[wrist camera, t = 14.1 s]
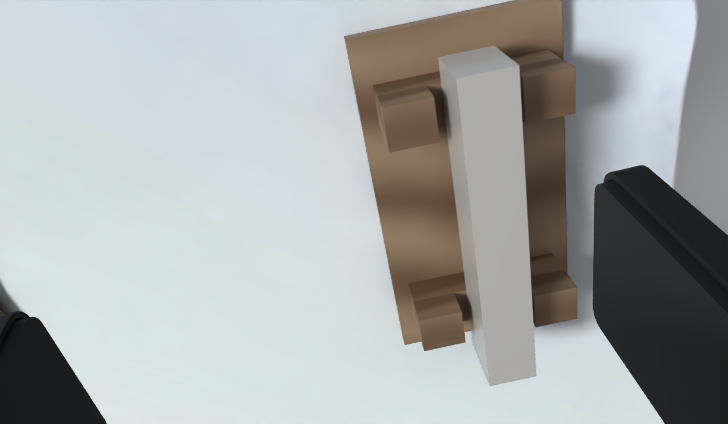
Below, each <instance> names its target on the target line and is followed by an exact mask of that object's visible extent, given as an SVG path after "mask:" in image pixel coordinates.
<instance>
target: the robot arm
mask: <svg viewBox="0 0 728 424" xmlns="http://www.w3.org/2000/svg"><path fill="white" fill-rule="evenodd" d="M593 311H594V316H595V319H596V321H597V324H598V326H599V327H600V329H601V330H602V332H603V333H604V335H605V336H606V338H607V339H608V341H609V342H610V344H611V345H612V347H613V348H614V349H615V351H616V352H617V354H618V355H619V357H620V358H621V360H622V361H623V363H624V364H625V366H626V367H627V369H628V370H629V372H630V373H631V374H632V376H633V377H634V379H635V380H636V382H637V383H638V385H639V386H640V388H641V389H642V391H643V392H644V394H645V395H646V397H647V398H648V399H649V401H650V402H651V404H652V405H653V407H654V408H655V410H656V411H657V413H658V414H659V416H660V417H661V419H662V420H663V422H664V423H665V424H728V235H727V234H726V233H724V232H723V231H722V230H721V229H720V228H718V227H717V226H716V225H715V224H714V223H713V222H711V221H710V220H709V219H708V218H707V217H706V216H704V215H703V214H702V213H701V212H700V211H698V210H697V209H696V208H695V207H694V206H693V205H691V204H690V203H689V202H688V201H687V200H686V199H684V198H683V197H682V196H681V195H680V194H679V193H677V192H676V191H675V190H674V189H673V188H671V187H670V186H669V185H668V184H667V183H666V182H664V181H663V180H662V179H661V178H660V177H659V176H657V175H656V174H655V173H654V172H653V171H652V170H650V169H649V168H648V167H646V166H644V165H640V166H635V167H631V168H627V169H623V170H618V171H614V172H610V173H608V174H607V175H606V176H605V178H604V183H601V184H598V185H597V186H596V188H595V198H594V261H593ZM0 424H107V423H106V421H105V419H104V418H103V416H102V415H101V413H100V412H99V410H98V409H97V407H96V405H95V404H94V402H93V401H92V399H91V398H90V396H89V395H88V393H87V392H86V390H85V388H84V387H83V385H82V384H81V382H80V381H79V379H78V378H77V376H76V375H75V373H74V371H73V370H72V368H71V367H70V365H69V364H68V362H67V361H66V359H65V358H64V356H63V354H62V353H61V351H60V350H59V348H58V347H57V345H56V344H55V342H54V341H53V339H52V337H51V336H50V334H49V333H48V331H47V330H46V328H45V327H44V325H43V324H42V322H41V321H40V320H39V319H38V318H36V317H29V316H28V315H27V314H26V313H24V312H20V311H17V312H12V313H8V314H4V315H0Z"/></svg>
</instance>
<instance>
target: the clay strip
mask: <svg viewBox="0 0 728 424" xmlns="http://www.w3.org/2000/svg"><path fill="white" fill-rule="evenodd" d="M438 62H439V70H440V78H441V87H442V95H443V103H444V111H445V120H446V128H447V136H448V144H449V153H450V161H451V169H452V178H453V186H454V194H455V202H456V211H457V219H458V227H459V235H460V244H461V252H462V260H463V268H464V277H465V285H466V293H467V301H468V310H469V318H470V326H471V334H472V343H473V346H474V348H475V351H476V354H477V356H478V359H479V361H480V364H481V366H482V369H483V371H484V374H485V376H486V379H487V381H488V384H489V386H493V385H498V384H502V383H507V382H512V381H516V380H521V379H526V378H530V377H535V376H536V363H535V344H534V326H533V308H532V289H531V271H530V253H529V234H528V216H527V198H526V180H525V161H524V143H523V125H522V106H521V88H520V70H519V65H518V64H517V63H516V62H514V61H513V60H512V59H510V58H509V57H508V56H507V55H505V54H504V53H503V52H502V51H500V50H499V49H498V48H496V47H495V46H489V47H485V48H480V49H475V50H470V51H466V52H461V53H456V54H451V55H447V56H442V57H438Z"/></svg>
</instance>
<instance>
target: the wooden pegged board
mask: <svg viewBox="0 0 728 424" xmlns="http://www.w3.org/2000/svg"><path fill="white" fill-rule="evenodd" d="M344 38H345V43H346V48H347V54H348V59H349V64H350V69H351V74H352V79H353V84H354V89H355V94H356V100H357V105H358V110H359V115H360V120H361V125H362V130H363V135H364V141H365V146H366V151H367V156H368V161H369V166H370V171H371V176H372V182H373V187H374V192H375V197H376V202H377V207H378V212H379V217H380V223H381V228H382V233H383V238H384V243H385V248H386V253H387V258H388V264H389V269H390V274H391V279H392V284H393V289H394V294H395V299H396V305H397V310H398V315H399V320H400V325H401V330H402V335H403V339H404V344H405V345H407V344H411V343H416V342H422V345H423V348H424V351H427V350H432V349H436V348H441V347H446V346H450V345H455V344H460V343H464V342H465V334H464V332H467V331H471V326H470V318H469V310H468V301H467V293H466V285H465V277H464V268H463V260H462V252H461V244H460V235H459V227H458V219H457V211H456V202H455V194H454V186H453V178H452V169H451V161H450V153H449V144H448V136H447V128H446V120H445V111H444V103H443V95H442V87H441V78H440V70H439V62H438V57H442V56H447V55H451V54H456V53H461V52H466V51H470V50H475V49H480V48H485V47H489V46H495V47H496V48H498V49H499V50H500V51H502V52H503V53H504V54H505V55H507V56H508V57H509V58H510V59H512V60H513V61H514V62H516V63H517V64H518V65H519V70H520V88H521V106H522V125H523V143H524V161H525V180H526V198H527V216H528V234H529V253H530V271H531V289H532V308H533V323H534V325H535V326H536V327H539V326H544V325H549V324H553V323H558V322H563V321H567V320H572V319H577V287H576V285H575V284H574V283H573V281H572V280H571V278H570V277H569V276H568V274H567V237H566V183H565V128H564V116H566V115H570V114H575V67H574V66H572V65H571V64H569V63H567V62H566V61H564V60H563V20H562V0H514V1H510V2H505V3H500V4H495V5H491V6H486V7H481V8H476V9H472V10H467V11H462V12H457V13H453V14H448V15H443V16H438V17H433V18H429V19H424V20H419V21H414V22H410V23H405V24H400V25H395V26H391V27H386V28H381V29H376V30H372V31H367V32H362V33H357V34H353V35H348V36H344Z"/></svg>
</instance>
